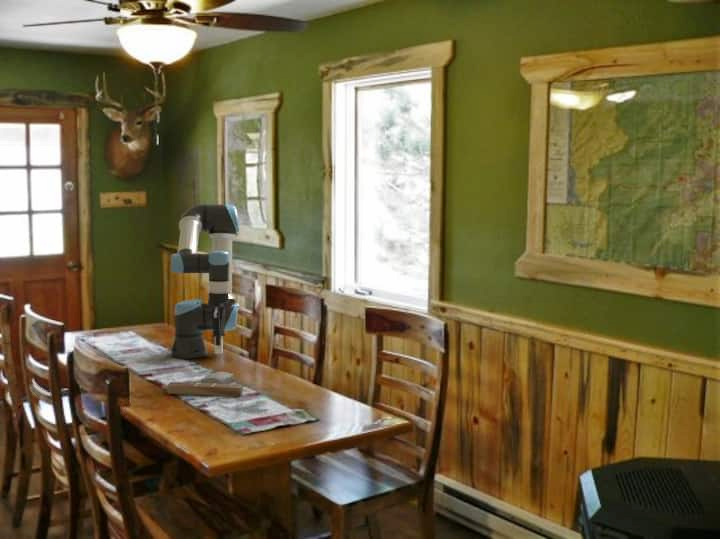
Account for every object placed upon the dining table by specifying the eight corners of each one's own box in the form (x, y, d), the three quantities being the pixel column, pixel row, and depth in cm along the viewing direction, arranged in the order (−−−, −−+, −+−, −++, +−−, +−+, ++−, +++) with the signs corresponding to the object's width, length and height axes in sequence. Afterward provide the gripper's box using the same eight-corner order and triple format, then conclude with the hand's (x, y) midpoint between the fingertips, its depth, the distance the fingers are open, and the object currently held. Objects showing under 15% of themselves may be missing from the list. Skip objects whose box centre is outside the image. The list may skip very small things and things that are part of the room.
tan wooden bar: (170, 390, 280) (170, 381, 280) (242, 392, 280) (242, 384, 279) (167, 393, 276) (167, 384, 276) (240, 396, 276) (240, 387, 275)
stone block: (199, 392, 286) (224, 389, 284) (197, 379, 286) (222, 376, 284) (211, 384, 297) (236, 381, 295) (209, 372, 297) (234, 369, 295)
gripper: (212, 289, 302) (212, 349, 305) (204, 294, 289) (204, 356, 292) (232, 289, 302) (231, 349, 305) (225, 294, 289) (224, 357, 292)
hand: (218, 353), depth 298 cm, fingers closed
